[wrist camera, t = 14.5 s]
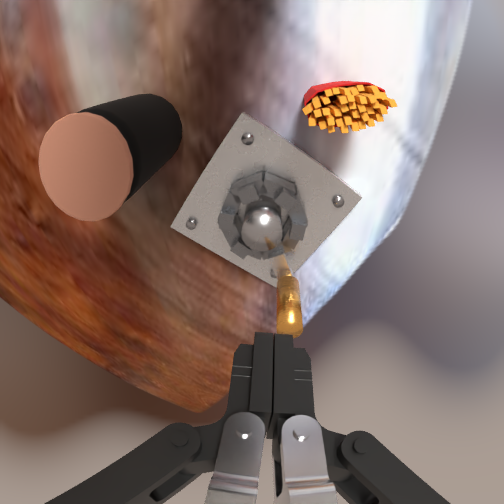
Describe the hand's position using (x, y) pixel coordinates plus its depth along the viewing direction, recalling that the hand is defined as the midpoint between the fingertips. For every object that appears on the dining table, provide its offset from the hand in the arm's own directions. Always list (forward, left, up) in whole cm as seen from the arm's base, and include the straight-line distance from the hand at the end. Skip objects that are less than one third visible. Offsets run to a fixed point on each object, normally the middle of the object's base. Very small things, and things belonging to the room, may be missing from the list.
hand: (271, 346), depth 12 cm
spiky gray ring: (+6, -10, -31) cm, 33 cm away
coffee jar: (-16, -7, -33) cm, 38 cm away
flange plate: (+4, -8, -33) cm, 34 cm away
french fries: (+2, +10, -33) cm, 35 cm away
